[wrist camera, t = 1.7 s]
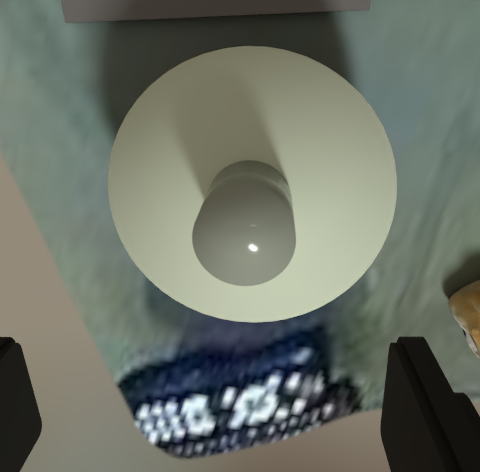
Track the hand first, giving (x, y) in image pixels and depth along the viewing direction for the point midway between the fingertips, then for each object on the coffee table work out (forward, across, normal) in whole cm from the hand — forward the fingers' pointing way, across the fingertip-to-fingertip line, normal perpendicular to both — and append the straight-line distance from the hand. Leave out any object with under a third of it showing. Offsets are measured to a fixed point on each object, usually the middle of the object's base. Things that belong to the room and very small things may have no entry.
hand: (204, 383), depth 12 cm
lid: (+15, -1, 0) cm, 15 cm away
